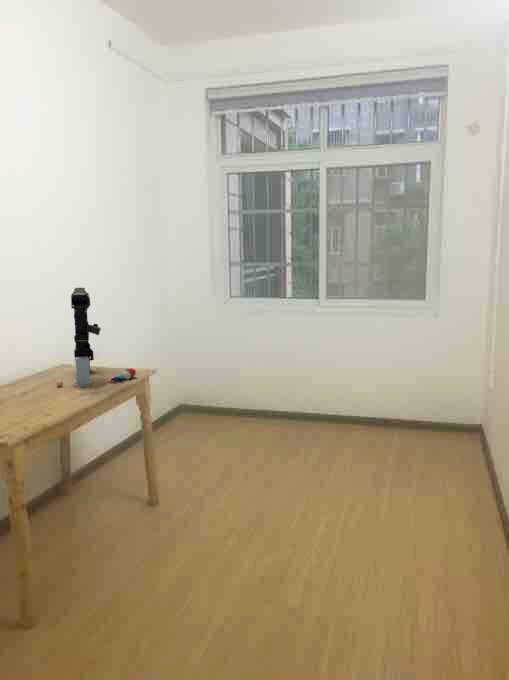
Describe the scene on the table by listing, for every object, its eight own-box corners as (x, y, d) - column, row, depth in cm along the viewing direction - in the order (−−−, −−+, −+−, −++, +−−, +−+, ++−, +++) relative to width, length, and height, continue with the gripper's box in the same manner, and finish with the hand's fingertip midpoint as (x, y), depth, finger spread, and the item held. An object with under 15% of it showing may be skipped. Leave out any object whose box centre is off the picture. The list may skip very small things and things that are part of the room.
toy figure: (118, 388, 253) (141, 376, 264) (115, 377, 251) (138, 366, 263) (107, 387, 257) (129, 375, 269) (104, 377, 256) (127, 365, 267)
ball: (57, 385, 250) (56, 379, 249) (64, 385, 250) (63, 379, 249) (55, 387, 247) (54, 381, 246) (62, 387, 247) (61, 380, 246)
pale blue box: (76, 383, 252) (74, 357, 250) (89, 382, 254) (87, 356, 252) (77, 385, 248) (75, 359, 246) (90, 384, 250) (88, 358, 248)
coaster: (76, 382, 255) (75, 381, 255) (95, 382, 255) (95, 381, 255) (70, 387, 246) (70, 386, 246) (91, 387, 247) (91, 386, 246)
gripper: (99, 321, 249) (101, 355, 252) (98, 316, 267) (100, 348, 269) (73, 322, 246) (75, 357, 249) (74, 317, 264) (76, 349, 266)
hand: (82, 352), depth 258 cm, fingers open, 9 cm apart
